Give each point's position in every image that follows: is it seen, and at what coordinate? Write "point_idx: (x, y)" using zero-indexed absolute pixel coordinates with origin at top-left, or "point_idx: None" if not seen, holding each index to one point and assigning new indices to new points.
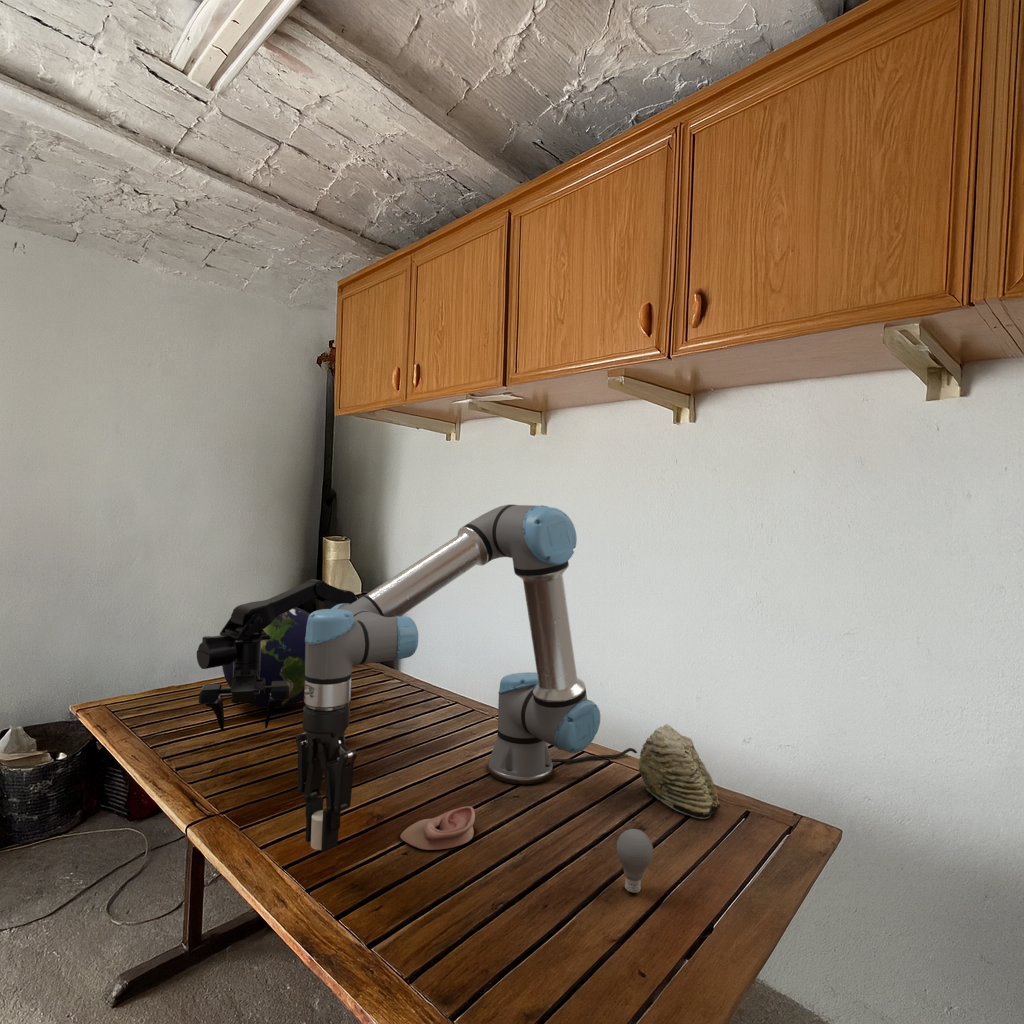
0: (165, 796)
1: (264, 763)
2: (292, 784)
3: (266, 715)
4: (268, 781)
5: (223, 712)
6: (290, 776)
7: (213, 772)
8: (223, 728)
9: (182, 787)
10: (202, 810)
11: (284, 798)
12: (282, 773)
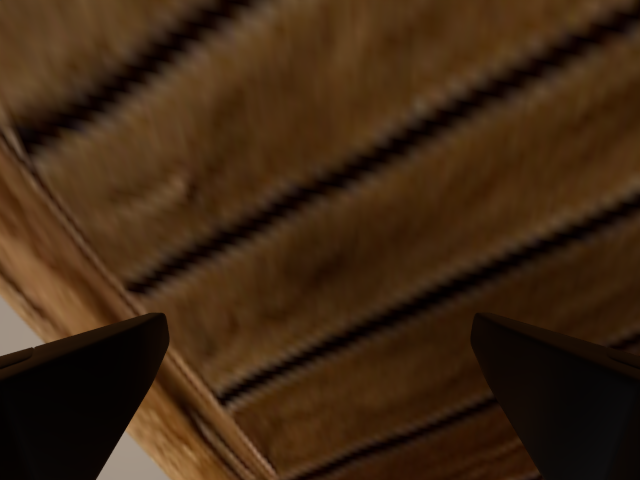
0: None
1: (410, 158)
2: None
3: (523, 409)
4: (419, 333)
5: (78, 362)
6: (503, 309)
7: (198, 211)
8: (163, 338)
9: (118, 319)
10: (230, 466)
11: (461, 448)
12: (477, 278)
